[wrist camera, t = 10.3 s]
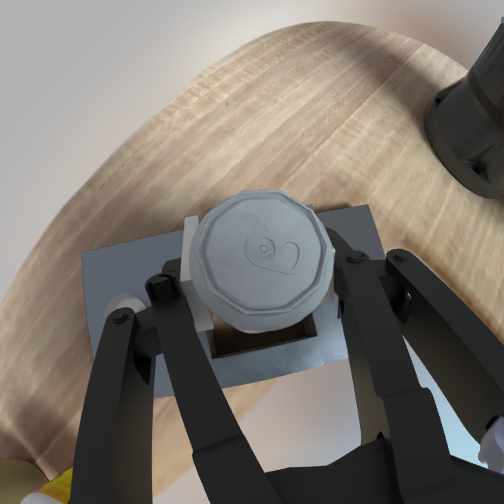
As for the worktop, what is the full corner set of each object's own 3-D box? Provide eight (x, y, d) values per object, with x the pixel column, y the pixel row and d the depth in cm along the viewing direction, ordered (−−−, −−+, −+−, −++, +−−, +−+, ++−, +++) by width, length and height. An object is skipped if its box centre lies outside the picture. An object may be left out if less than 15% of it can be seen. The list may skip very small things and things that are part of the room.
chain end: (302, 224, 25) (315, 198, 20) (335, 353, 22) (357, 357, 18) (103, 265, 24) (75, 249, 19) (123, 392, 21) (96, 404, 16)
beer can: (229, 256, 21) (211, 162, 10) (295, 274, 21) (352, 199, 9) (209, 322, 20) (161, 304, 8) (278, 341, 20) (323, 348, 8)
